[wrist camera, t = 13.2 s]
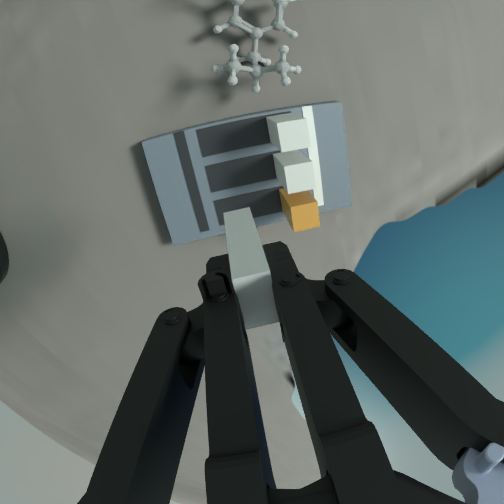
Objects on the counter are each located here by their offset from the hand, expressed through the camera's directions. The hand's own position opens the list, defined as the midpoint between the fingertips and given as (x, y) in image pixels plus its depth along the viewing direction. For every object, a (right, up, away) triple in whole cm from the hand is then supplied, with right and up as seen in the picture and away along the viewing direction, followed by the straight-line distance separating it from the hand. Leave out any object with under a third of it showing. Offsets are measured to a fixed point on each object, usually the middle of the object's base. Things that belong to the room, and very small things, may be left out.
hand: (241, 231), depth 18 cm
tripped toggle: (+6, +6, +21) cm, 22 cm away
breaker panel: (+1, +9, +21) cm, 23 cm away
